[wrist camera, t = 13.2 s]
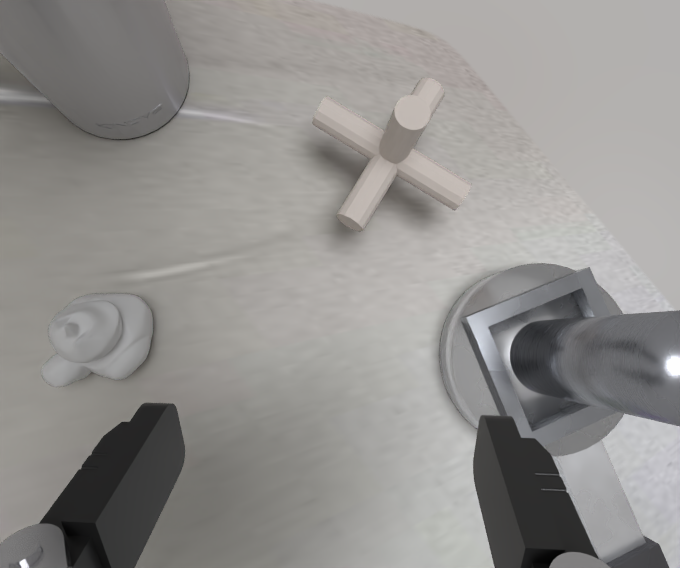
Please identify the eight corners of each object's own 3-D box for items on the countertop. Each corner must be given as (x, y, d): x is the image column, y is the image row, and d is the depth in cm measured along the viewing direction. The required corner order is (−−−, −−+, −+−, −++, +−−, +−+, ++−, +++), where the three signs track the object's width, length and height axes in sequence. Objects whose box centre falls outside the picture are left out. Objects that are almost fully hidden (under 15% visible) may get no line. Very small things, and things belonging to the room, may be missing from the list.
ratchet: (412, 306, 31) (430, 300, 27) (563, 246, 33) (601, 232, 29) (573, 701, 29) (619, 761, 25) (726, 616, 31) (793, 659, 27)
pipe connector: (403, 279, 32) (451, 250, 22) (279, 204, 31) (271, 140, 22) (470, 162, 33) (543, 86, 23) (352, 90, 33) (376, -17, 23)
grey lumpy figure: (183, 332, 30) (142, 328, 22) (105, 408, 29) (32, 432, 21) (124, 274, 30) (62, 250, 22) (45, 348, 29) (-50, 349, 21)
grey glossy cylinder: (498, 335, 29) (622, 333, 18) (563, 310, 29) (720, 293, 18) (526, 405, 28) (669, 448, 17) (591, 378, 29) (768, 403, 18)
